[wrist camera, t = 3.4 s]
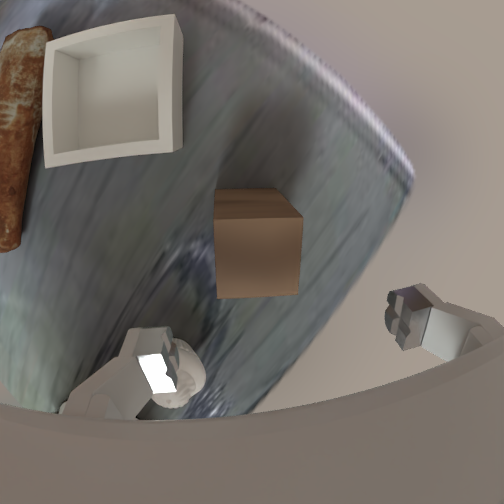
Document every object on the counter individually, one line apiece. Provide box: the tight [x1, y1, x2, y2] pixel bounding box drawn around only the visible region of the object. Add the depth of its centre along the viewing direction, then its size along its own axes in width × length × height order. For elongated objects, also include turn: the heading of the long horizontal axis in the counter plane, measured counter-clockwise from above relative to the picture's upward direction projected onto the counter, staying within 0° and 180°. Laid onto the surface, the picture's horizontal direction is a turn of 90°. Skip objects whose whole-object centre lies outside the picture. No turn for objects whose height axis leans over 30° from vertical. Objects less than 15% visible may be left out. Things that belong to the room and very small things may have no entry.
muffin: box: [151, 338, 206, 409], centre depth 24 cm, size 6×6×7 cm
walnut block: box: [213, 188, 303, 299], centre depth 20 cm, size 5×5×8 cm
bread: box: [0, 26, 55, 253], centre depth 16 cm, size 6×19×6 cm, turn 158°
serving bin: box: [42, 14, 184, 168], centre depth 16 cm, size 9×9×5 cm
